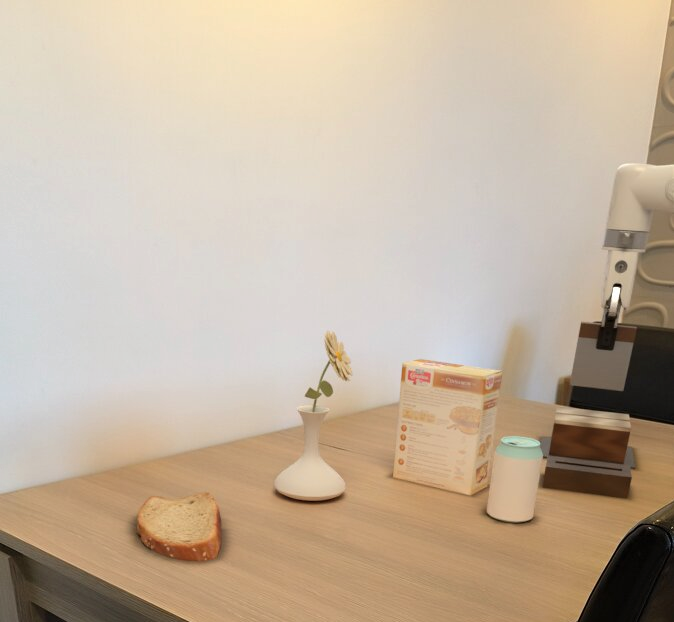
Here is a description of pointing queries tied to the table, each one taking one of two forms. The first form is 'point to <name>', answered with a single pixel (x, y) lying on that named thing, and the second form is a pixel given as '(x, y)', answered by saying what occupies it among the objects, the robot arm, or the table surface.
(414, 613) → the table surface
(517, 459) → the can
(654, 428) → the table surface
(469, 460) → the coffeecake box
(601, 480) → the slotted wooden block
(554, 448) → the wooden box
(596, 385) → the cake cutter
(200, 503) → the bread slice
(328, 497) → the flower in vase
